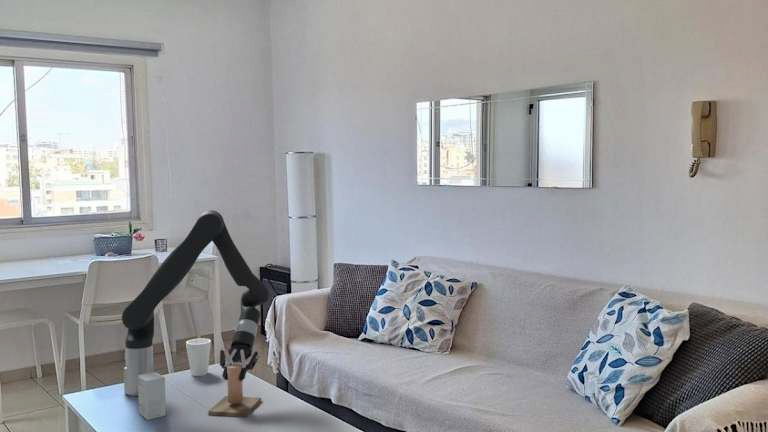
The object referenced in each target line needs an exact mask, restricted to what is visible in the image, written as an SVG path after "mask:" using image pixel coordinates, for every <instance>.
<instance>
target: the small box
mask: <svg viewBox="0 0 768 432" xmlns="http://www.w3.org/2000/svg"><path fill="white" fill-rule="evenodd" d="M165 378H166V377H165V376H163V375H162V374H160V373H159V372H157V371H153V373H147V374H142V375H138V396H137V398H138V414H139V415H140V416H142V417H143V418H144V419H145V420H152V419H154V420H155V419H156V418H162V417H165V416H166V415H167V413H166V412H167V411H166V410H167V409H166V405H167V404H166V379H165Z"/></svg>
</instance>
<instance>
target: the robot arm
mask: <svg viewBox="0 0 768 432" xmlns="http://www.w3.org/2000/svg"><path fill="white" fill-rule="evenodd" d="M211 243H213V244H214V245H215V247H216V249H217V250H218V253H219V255H220V257H221V259H222V261H223V263H224V265H225V267H226V269H227V271H228V273H229V274H230V276H231V278H232V280H233V281H234V282H235V284H236V286H237V287H245V288H247V289H245V290H244V291H243V293H242V294H241V297H240V314H239V318H238V321H237V324H236V326H235V330H234V333H233V337H232V340H231V343H230V347H229V348H228V350H223V349H221V350H220V351H219V353H220V354H219V365H220V367H221V369H223V371H222V378H223V380H224V381H227V366H229V365H233V364H235V363H241V365H242V369H241V372H240V376H239V380H240V381H244V380H245V379H246V375H247V372H248V371H249V370H250V371H252V370H253V369H254V368H255V366H256V364H257V362H258V360H259V358H260V355H259V352H258V351H253V350H254V349H253V348H254V345H255V341H256V337H257V332H258V326H259V324H260V323H259V322H260V319H261V312H260V310H259V309H257V308H256V307H259V306H261V305H265V304H266V303H268V301H269V299H270V291H269V289H268V287H267V285H265V284H264V283H263V281H261V280H260V279H259V278H258V277H257V276H256V275H255V274H254V273H253V272H252V270H251V268H250V267H249V265H248V263H247V262H246V261H245V258H244V257H243V255H242V254H241V252H240V250H239V249H238V248H237V246H236V244H235V242H234V240H233V239H232V237H231V235H230V232H229V231H228V228H227V225H226V223H225V220H224V217H223V216H222V214H220V212H218V211H217V210H213V209H209V210H205V211H204V212H202V213H201V214H200V216H199V217H198V218H197V220H196V222H195V223H194V225H193V227H192V229H191V230H190V232H189V233H188V234H187V236H186V237H185V239H183V241H181V243H180V244H178V245H177V247H175V249H173V250H172V251H171V252H170V254H169V255H168V256H167V257H166V258H165V259H164V260H163V262H162V263H161V264H160V265H159V267H158V268H157V269H156V271H155V272H154V273H153V274H152V276H151V278H150V280H149V281H148V282H147V284H146V285H145V287H144V288H143V289H142V291H141V292H140V293H139V294H138V295H137V296H136V297H135V298H134V299H133V300H132V301H131V302H130V303H129V304H128V305H127V306H126V307H125V308H124V309H123V311H122V314H121V321H122V324H123V325H124V327H125V328H126V329H128V330H127V336H126V338H125V367H123V381H124V382H123V386H124V387H123V388H124V389H123V390H124V394H125V395H128V396H131V397H138V375H142V374H147V373H153V372H154V347H153V346H154V345H153V339H154V334H155V309H156V308H157V307H158V305H159V304H160V303H161V302H162V301H163V300H164V299H165V298H166V297H167V296H168V295H169V294H171V293H172V292H173V290H174V289H176V288H177V287H178V286H179V284H180V283H181V282H182V281H183V280H184V279H185V277H186V276H187V275H188V273H189V272H190V271H191V269H192V267H194V264H195V263H196V262H197V260H198V258H199V256H200V255H201V253H202V252H203V251H204V250H205V249H206V248H207V246H208V245H210V244H211ZM228 355H229V356H228ZM250 357H251V358H250ZM249 358H250V361H249V362H248V360H249ZM226 359H227V360H226Z"/></svg>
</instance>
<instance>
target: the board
mask: <svg viewBox="0 0 768 432" xmlns="http://www.w3.org/2000/svg"><path fill="white" fill-rule="evenodd" d="M261 401H262V397H257V396H256V397H255V396H253V397H252V396H243V401H242V402H240V403H236V404H232V403H228V395H225V396H224V397H223V398H221V399H220V400H219V401H218V402H217V403H216V404H215V405H214V406H213V407H211V408H210V409H209V410H208V412H207V413H208V416H210V415H211V416H227V417H241V418H242V417H244V418H247V416H249V414H250V413H251V412H252V411H253V410H254V409H255V408H256V407H257V406H258V405H259V404H260V403H261Z"/></svg>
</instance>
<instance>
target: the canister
mask: <svg viewBox="0 0 768 432" xmlns="http://www.w3.org/2000/svg"><path fill="white" fill-rule="evenodd" d="M242 368H243V367H242V364H239V363H238V364H237V363H236V364H233V365H229V366H227V380H226V381H227V396H228V403H232V404H236V403H240V402H242V401H243V397H244V396H243V395H244V394H243V393H244V391H243V390H244V389H243V385H244V384H243V381H244V380H243V381H240V380H239V376H240V372H241V369H242Z"/></svg>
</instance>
